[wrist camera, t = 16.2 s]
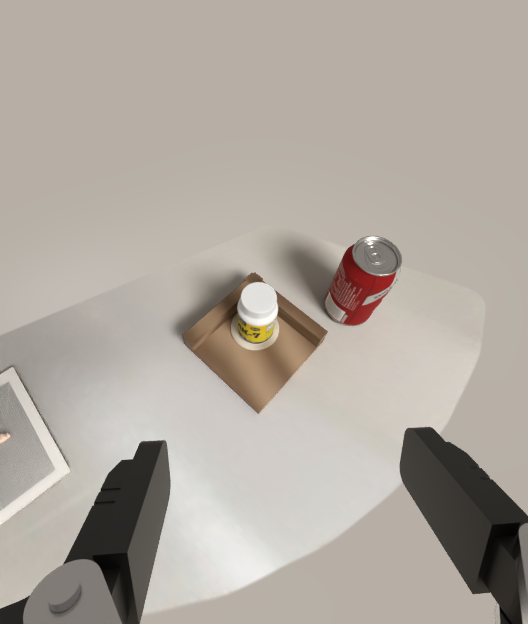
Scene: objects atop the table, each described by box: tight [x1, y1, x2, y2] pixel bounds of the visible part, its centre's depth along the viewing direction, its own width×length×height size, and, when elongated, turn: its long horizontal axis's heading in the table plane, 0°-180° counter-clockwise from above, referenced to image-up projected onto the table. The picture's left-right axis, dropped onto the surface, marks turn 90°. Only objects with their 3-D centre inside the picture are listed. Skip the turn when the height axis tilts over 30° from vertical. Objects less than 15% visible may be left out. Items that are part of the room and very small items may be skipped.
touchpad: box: [0, 367, 70, 525], centre depth 35 cm, size 8×15×2 cm, turn 42°
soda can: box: [325, 236, 402, 326], centre depth 41 cm, size 7×7×12 cm
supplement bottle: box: [237, 282, 278, 345], centre depth 38 cm, size 5×5×8 cm
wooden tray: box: [182, 273, 328, 414], centre depth 41 cm, size 13×13×4 cm
